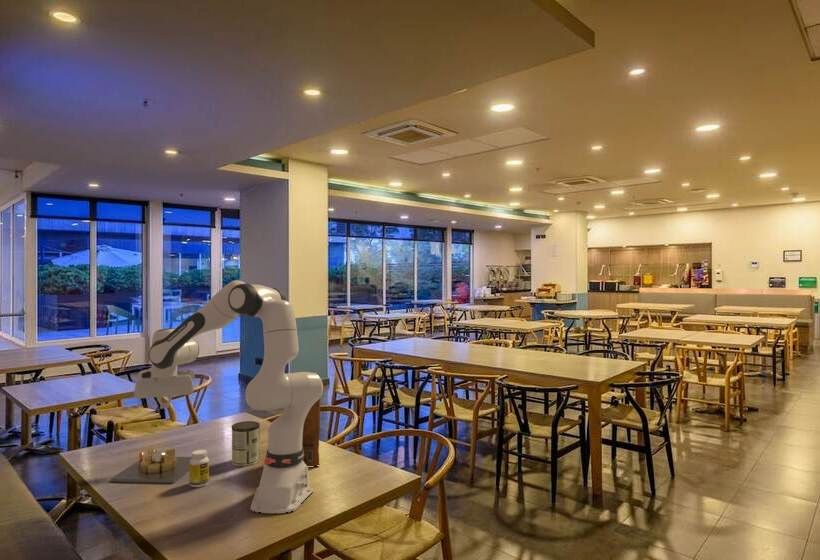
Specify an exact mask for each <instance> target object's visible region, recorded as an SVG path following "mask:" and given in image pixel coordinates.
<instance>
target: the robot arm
mask: <svg viewBox="0 0 820 560" xmlns="http://www.w3.org/2000/svg"><path fill="white" fill-rule="evenodd" d="M240 315H241V316H246V317H255V318H260V320H261V322H262V333H263V346H264V348H263V349H264V350H263V351H264V352H263V361H262V364H261V366H260V367H261V368H260V369H259V371H258V372H257V373H256V375H255V376H254V378H252V379H251V380H250V381H249V382H248V384H247V386H246V389H245V400H246V403H247V405H248V407H250V408H251V409H252V410H254V411H272V410H273V411H274V410H279V409H282V408H284V410H282V412H281V414H280V415H279V416H278V417H277V418H275V419H274V420H273V421H272V422H270V425H269V427H268V429H267V449H266V453H265V458H264V462H263V463H264V465H263V469H262V473H261V477H260V481H259V485H258V487H257V488H256V489H255V493H254V495H253V499H252V501H251V505H250V508H249V509H250V511H251V510H252V511H251V512H254V511H255V513H258V512H261V513H260V514H275V513H276V514H287V513H286V512H288V513H292V512H291V511H293V512H295V511H296V510H297V509H298V508H300V506H302V504H303V503H304V502H305V501H306V500H307V499H308V498H309V497H310V496H311V495H312V494H313V493H314V492H313V491H314V488H313V487H310V484H309V482H310V481H309V467H308V466H307V465H306V464H305V463H304V461H303V459H304V448H303V447H302V438H303V426H304V422H305V419H306V416H307V414H308V412H309V410H310V409H311V407H312V406H313V405H314V403H315V402H316V401H318V400H319V399H320V400H321V398H322V395H323V392H324V384H323V380H322V378H321V377H320V375H318V373H316V372H312V371H311V372H310V371H299V372H290V373H289V372H288V373H285V369H286V366H287V364H288V363H290V362H292V361H293V360H294V359H296V357H297V356H298V355H299V351H300V348H299V337H298V327H297V322H296V321H297V320H296V316H295V312H294V309H293V306H292V304H291V303H290V302H289V301H287V296H286V295H285V294H284V292H282V291H281V290H279V289H277V288H275V287H268V286H265V285H262V284H255V283H254V284H252V283H247V282H245V281H243V280H238V279H237V280H236V279H235V280H232V281H230V282H229V283H226V285H224V286H223V287H222V288H221V289H219V291H217V292H216V294H214V295H213V297H212V298H210V299H209V300H208V302H206V303H205V304H203V306H201V308H199V309H198V310H197V311H196V312H194V313H193V314H191V315H190V316H189V317H187V318H186V319H184V321H182V322H181V323H180V324H179V325H178V326H176V328H173V327H170V328H163V329H158V330H156V331H154V333H153V335H152V338H151V339H152V340H151V346H150V348H149V351H148V359H149V361H150V363H151V367H148V368H147V369H143V370H140V371H139V372H138V375H137V378H138V379H137V381H136V382H135V385H134V386H135V387H134V391H133V396H134V398H135V399H136V400H138V399H151V398H152V399H153V398H156V401H157V402H158V404H159V405H160V410H162V409H169V408H170V404H171V401H172V400H173V397H174V396H175V397H177V396H187V395H192V394H193V393H194V389H195V388H194V381H195V377H196V375H195V372H194V371H193V370H190V369H187V370H185V369H184V370H178V366H180V365H184V364H185V365H186V364H189V363H192V362H194V361H196V360H197V359H198V357H199V354H200V346H199V343H198V342H197V340H195V337H196V336H199V335H201V334H204V333H208V332H210V331H216V330H219V329H223V328H225V327H227V326H228V325H230V324H232V323H233V322H234V321H235V320H236V319H237V318H238V317H239V316H240ZM162 397H167V399H168V400H167V402H163V401H162ZM320 397H321V398H320ZM312 492H313V493H312ZM311 493H312V494H311ZM310 494H311V495H310ZM309 495H310V496H309ZM308 496H309V497H308ZM307 497H308V498H307ZM306 498H307V499H306ZM305 499H306V500H305ZM304 500H305V501H304ZM303 501H304V502H303ZM302 502H303V503H302ZM301 503H302V504H301Z"/></svg>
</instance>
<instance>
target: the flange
mask: <svg viewBox="0 0 820 560" xmlns="http://www.w3.org/2000/svg"><path fill="white" fill-rule="evenodd" d="M144 454H145V453H144V452H142V451H141V452H139V454H138V456H139V457H138V458H139V459H138V461H136V462H135V463H133V464H132V465H130V466H128V467H126V468H125V469H123V470H121V471H120V472H119V473H117V474H115V475H114V476H112V477H111V478H110V483H127V482H130V483H132V484H133V483H134V484H136V483H137V484H139V483H140V484H172V485H173V484H175V483H176V482H178V480H180V479H181V478H182V477H183V476H184V475H186V474H187V473H189V470H190V460H191V459H192V458H193V457H192V456H176V457H177V465H176V467H175V468H173V469H171V470H168V471H165V472H160V473H144V472H142V471H140V462H141V461H142V457H143V456H145V455H144ZM164 454H166V451H165V450H157V451H156V452H153V453H152V464H156V463H161V455H164Z"/></svg>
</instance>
